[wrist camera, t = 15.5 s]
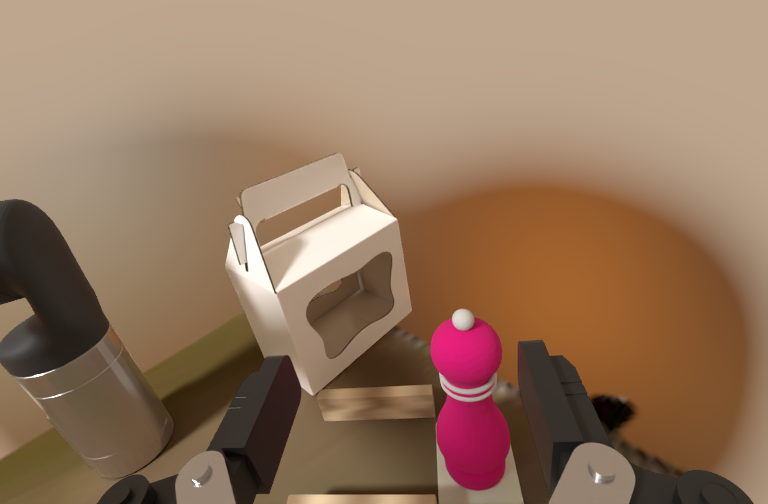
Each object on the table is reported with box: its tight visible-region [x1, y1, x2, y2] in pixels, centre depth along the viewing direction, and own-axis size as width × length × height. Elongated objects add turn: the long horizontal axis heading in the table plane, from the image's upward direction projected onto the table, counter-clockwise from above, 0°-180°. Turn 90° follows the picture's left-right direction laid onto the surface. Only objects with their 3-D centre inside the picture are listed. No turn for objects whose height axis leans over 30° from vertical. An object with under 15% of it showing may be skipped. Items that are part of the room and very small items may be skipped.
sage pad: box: [436, 423, 524, 504], centre depth 40 cm, size 8×9×1 cm
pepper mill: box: [431, 309, 510, 491], centre depth 35 cm, size 7×7×20 cm
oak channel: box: [287, 385, 437, 504], centre depth 41 cm, size 14×14×4 cm
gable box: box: [225, 153, 412, 396], centre depth 55 cm, size 22×13×28 cm, turn 137°
